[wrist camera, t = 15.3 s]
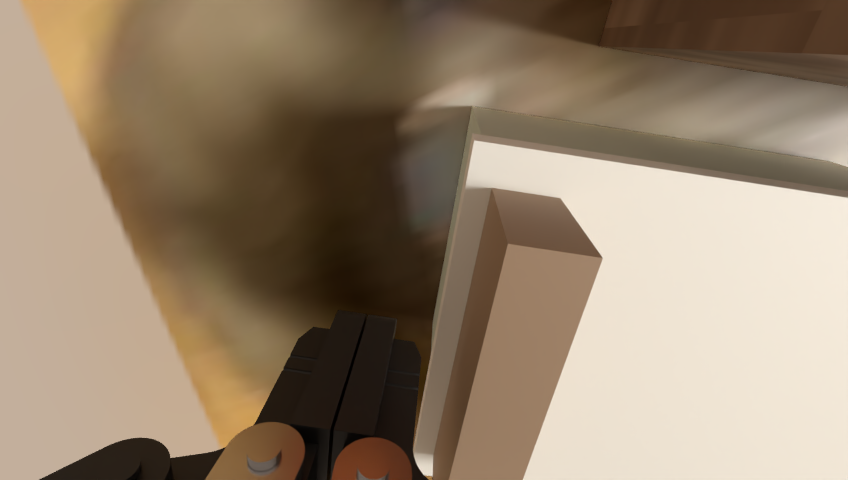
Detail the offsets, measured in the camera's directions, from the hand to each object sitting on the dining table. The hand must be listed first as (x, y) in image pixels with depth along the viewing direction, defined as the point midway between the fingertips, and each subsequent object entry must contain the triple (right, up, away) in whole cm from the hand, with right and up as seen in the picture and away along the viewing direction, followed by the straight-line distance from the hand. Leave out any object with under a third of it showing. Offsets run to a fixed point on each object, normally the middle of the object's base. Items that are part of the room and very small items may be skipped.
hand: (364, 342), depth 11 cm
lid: (+9, -1, +1) cm, 10 cm away
